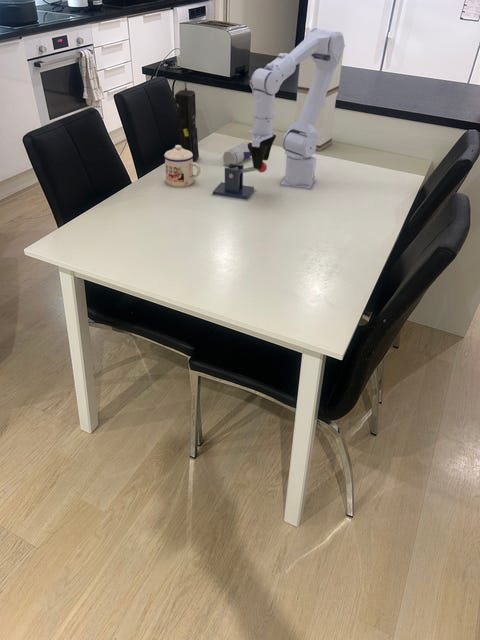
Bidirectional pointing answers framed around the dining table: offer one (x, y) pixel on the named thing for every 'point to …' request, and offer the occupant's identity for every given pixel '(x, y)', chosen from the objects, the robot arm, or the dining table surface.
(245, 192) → the bracket
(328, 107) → the tall banded cream box
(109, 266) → the dining table surface
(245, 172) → the lever
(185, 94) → the portable radio
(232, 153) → the energy drink
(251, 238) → the dining table surface
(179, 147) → the teacup with lid
